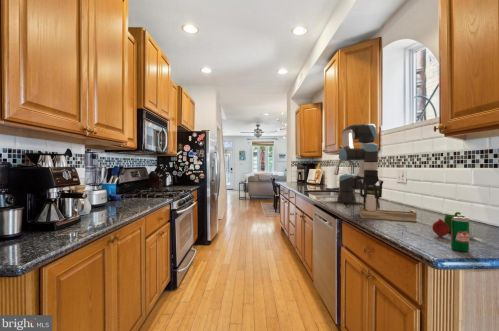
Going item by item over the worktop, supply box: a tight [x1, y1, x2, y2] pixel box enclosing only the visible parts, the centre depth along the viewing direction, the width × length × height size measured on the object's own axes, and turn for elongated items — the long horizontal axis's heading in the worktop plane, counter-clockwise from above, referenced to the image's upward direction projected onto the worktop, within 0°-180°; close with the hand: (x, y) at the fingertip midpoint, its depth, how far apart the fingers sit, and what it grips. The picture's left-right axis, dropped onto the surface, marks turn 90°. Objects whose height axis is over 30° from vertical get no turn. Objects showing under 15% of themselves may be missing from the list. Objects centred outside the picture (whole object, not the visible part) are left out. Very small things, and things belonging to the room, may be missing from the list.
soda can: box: [450, 215, 470, 253], centre depth 91 cm, size 5×5×12 cm
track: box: [359, 206, 418, 222], centre depth 146 cm, size 10×28×5 cm, turn 71°
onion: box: [432, 218, 450, 238], centre depth 108 cm, size 6×6×8 cm
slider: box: [366, 195, 375, 211], centre depth 149 cm, size 4×4×10 cm
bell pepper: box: [443, 211, 465, 234], centre depth 114 cm, size 8×8×10 cm
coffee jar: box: [362, 184, 381, 210], centre depth 159 cm, size 10×8×19 cm
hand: (370, 208), depth 148 cm, fingers closed on slider, 4 cm apart
